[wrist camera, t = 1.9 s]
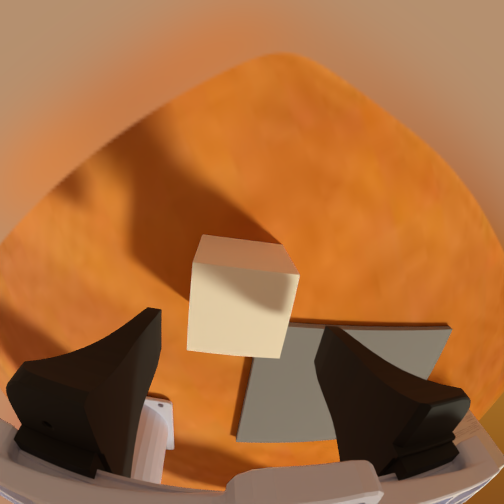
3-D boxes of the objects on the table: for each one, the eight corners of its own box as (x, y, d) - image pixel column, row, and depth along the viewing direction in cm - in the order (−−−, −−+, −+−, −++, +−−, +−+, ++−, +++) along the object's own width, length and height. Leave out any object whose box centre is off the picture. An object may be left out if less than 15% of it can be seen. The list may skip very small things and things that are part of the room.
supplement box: (408, 449, 29) (440, 514, 17) (428, 417, 27) (471, 488, 15) (445, 434, 30) (480, 490, 18) (466, 402, 27) (510, 461, 15)
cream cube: (195, 305, 19) (186, 350, 15) (202, 233, 18) (192, 262, 13) (268, 313, 20) (279, 358, 15) (282, 244, 18) (300, 274, 14)
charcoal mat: (236, 437, 24) (236, 441, 24) (260, 320, 20) (261, 324, 19) (392, 426, 26) (394, 430, 26) (449, 326, 22) (452, 329, 21)
